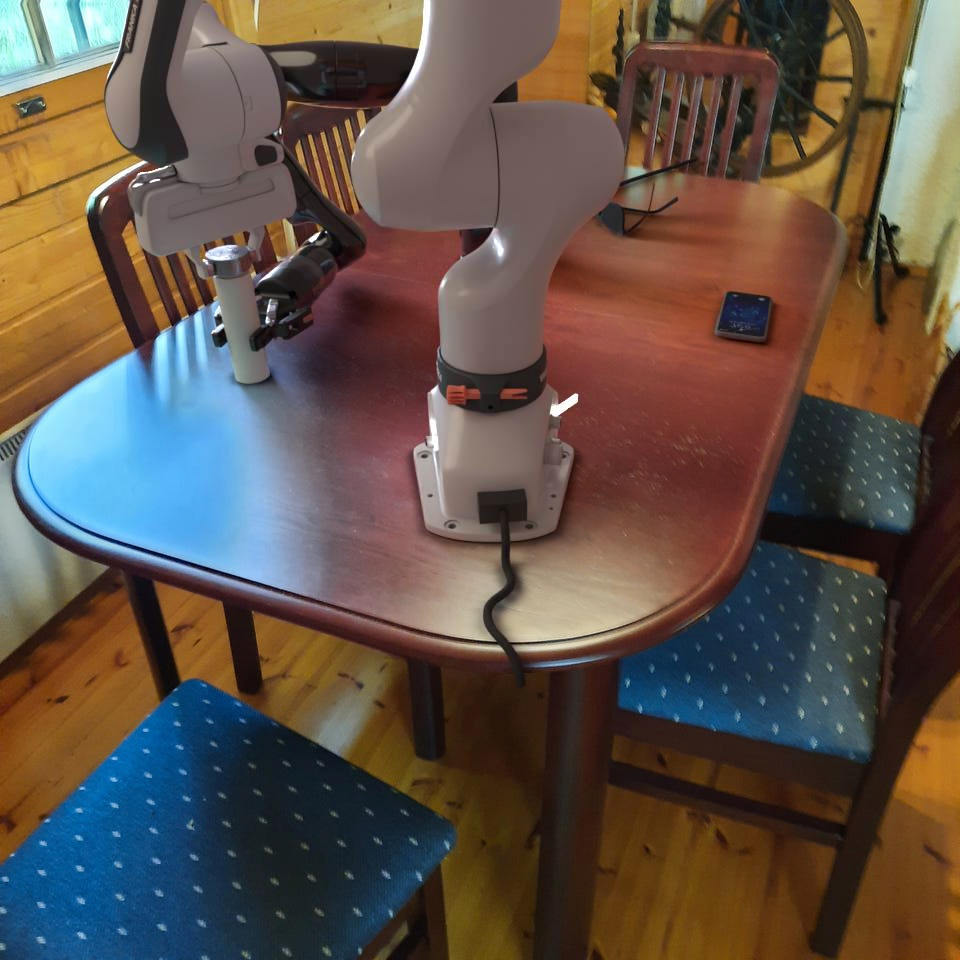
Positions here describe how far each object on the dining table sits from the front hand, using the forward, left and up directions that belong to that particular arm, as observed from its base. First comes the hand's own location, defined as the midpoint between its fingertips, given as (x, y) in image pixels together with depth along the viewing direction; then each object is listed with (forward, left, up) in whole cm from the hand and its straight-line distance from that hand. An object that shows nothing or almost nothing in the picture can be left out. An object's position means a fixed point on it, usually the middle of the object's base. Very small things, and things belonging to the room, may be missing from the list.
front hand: (230, 268), depth 109 cm
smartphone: (+16, -70, -15) cm, 74 cm away
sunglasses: (+59, -59, -15) cm, 85 cm away
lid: (0, 0, +2) cm, 2 cm away
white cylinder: (0, 0, -15) cm, 15 cm away
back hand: (-3, +1, -9) cm, 9 cm away
